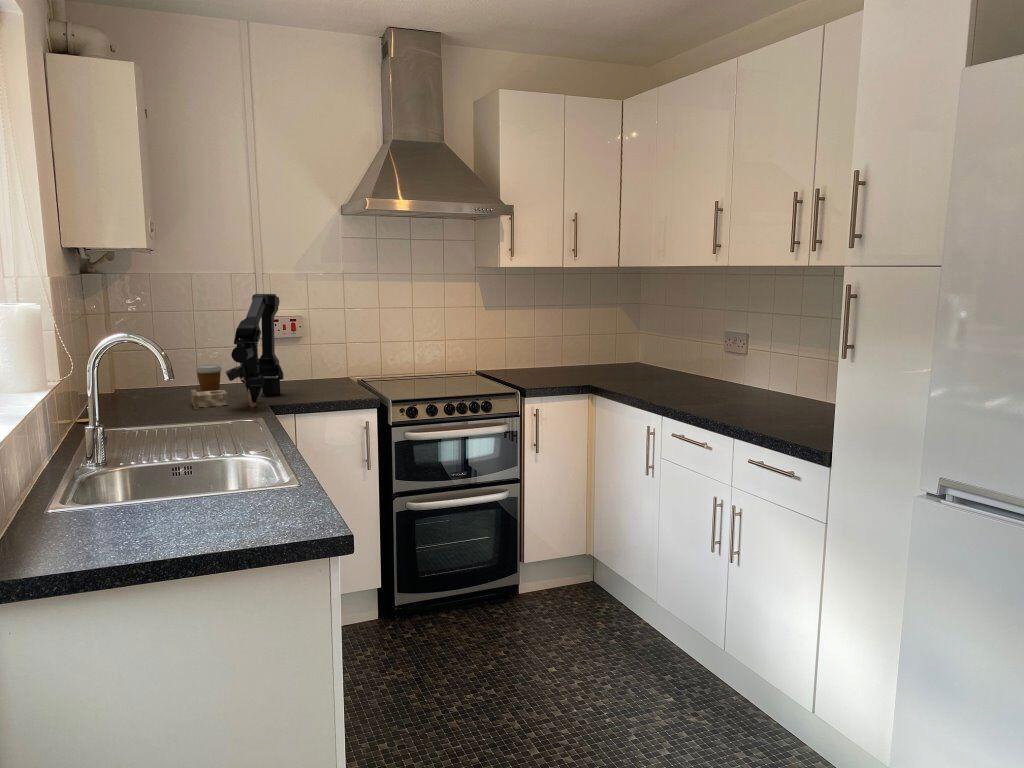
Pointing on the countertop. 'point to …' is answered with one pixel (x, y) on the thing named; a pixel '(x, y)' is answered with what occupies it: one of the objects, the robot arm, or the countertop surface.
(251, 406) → the dowel
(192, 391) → the wall
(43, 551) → the countertop surface
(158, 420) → the countertop surface
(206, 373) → the disposable coffee cup
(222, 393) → the block
